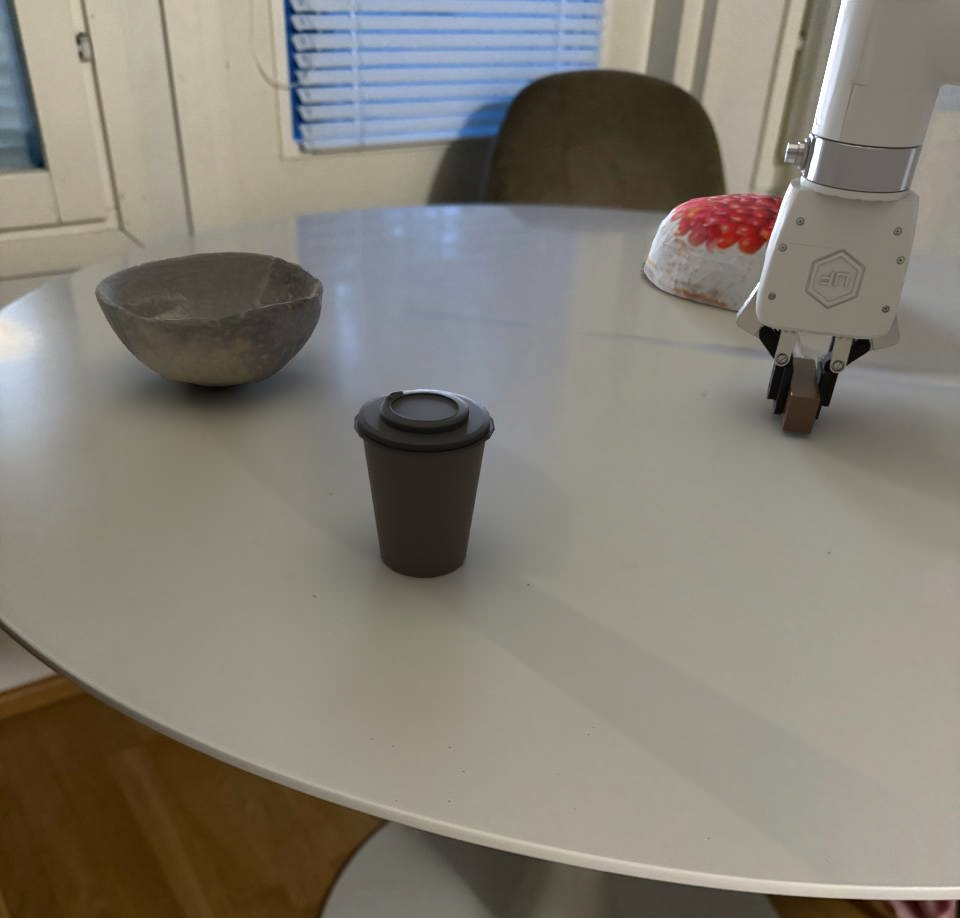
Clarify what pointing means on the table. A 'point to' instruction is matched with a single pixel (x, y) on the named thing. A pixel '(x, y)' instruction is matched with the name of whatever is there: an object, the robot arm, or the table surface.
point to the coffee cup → (423, 475)
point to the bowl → (213, 315)
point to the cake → (713, 248)
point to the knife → (801, 394)
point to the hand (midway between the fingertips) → (795, 408)
